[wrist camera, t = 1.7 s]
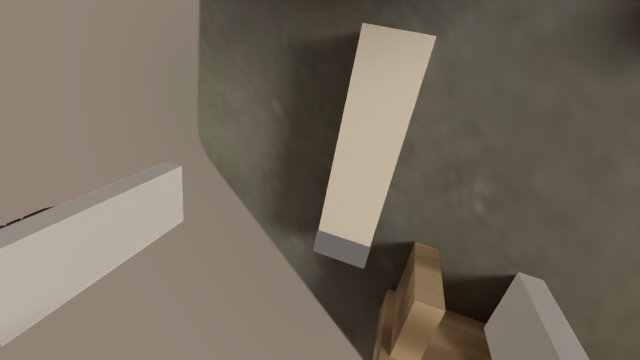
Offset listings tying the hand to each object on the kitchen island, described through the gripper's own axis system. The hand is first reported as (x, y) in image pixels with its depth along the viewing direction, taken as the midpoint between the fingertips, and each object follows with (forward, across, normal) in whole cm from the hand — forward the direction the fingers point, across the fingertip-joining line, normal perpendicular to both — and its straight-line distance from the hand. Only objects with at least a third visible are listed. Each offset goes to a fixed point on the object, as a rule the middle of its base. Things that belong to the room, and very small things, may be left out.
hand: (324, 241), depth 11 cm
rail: (+14, 0, 0) cm, 14 cm away
